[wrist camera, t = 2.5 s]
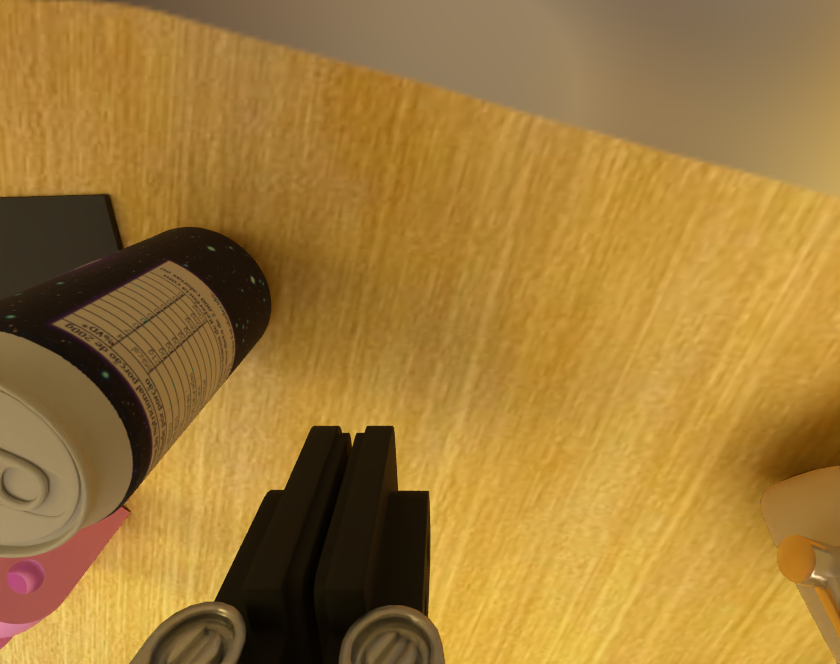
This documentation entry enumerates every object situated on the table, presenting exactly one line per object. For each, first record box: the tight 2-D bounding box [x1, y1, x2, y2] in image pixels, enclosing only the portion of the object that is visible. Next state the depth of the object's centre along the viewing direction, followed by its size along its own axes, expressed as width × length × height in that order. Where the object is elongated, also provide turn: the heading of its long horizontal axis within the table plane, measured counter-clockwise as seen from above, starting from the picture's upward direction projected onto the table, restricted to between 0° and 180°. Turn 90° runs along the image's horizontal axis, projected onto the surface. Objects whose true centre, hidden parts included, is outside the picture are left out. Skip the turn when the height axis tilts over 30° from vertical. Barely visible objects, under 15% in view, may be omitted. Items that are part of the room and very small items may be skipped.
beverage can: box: [0, 227, 271, 558], centre depth 16 cm, size 6×6×12 cm
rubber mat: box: [0, 194, 122, 300], centre depth 22 cm, size 9×10×1 cm
